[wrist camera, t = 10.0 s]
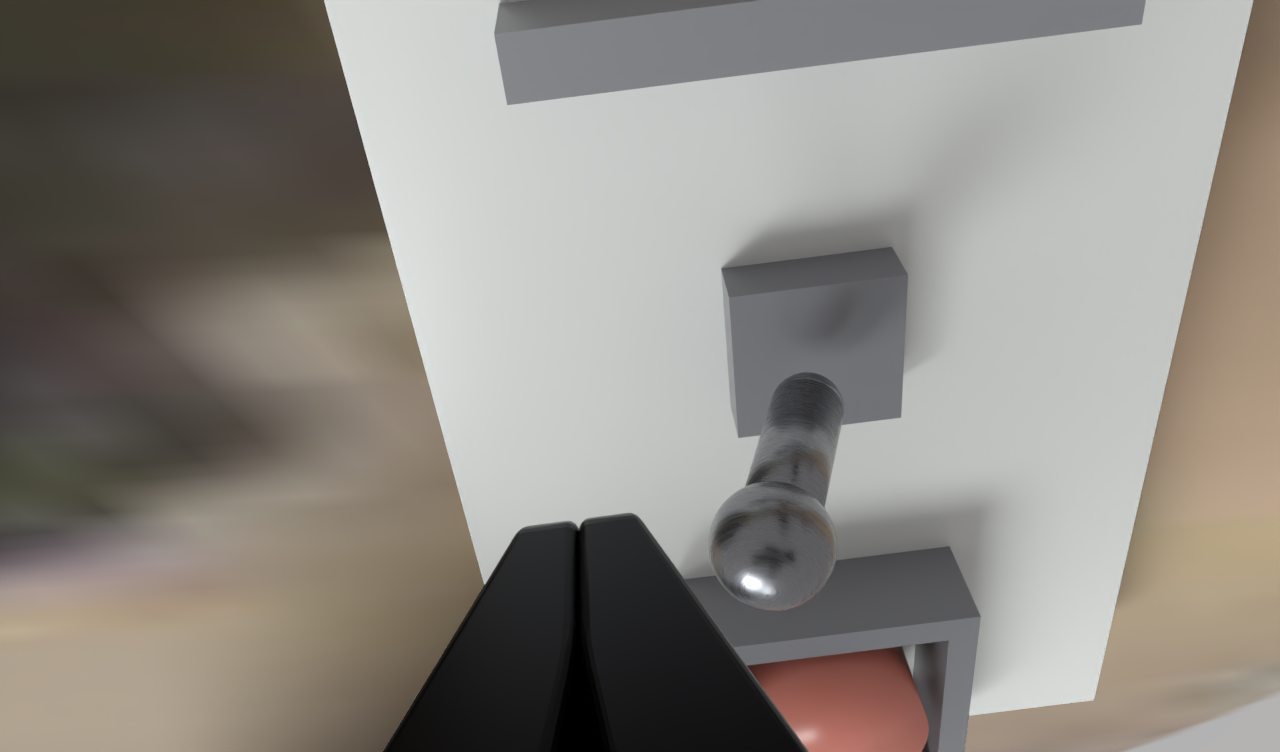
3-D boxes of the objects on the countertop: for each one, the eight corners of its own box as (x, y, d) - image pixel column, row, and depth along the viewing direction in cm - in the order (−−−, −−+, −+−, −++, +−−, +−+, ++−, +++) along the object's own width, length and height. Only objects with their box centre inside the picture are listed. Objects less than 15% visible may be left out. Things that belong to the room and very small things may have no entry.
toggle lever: (761, 424, 18) (699, 628, 15) (757, 339, 17) (689, 535, 14) (865, 433, 18) (827, 647, 14) (867, 346, 17) (827, 552, 13)
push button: (734, 733, 25) (746, 808, 23) (724, 619, 23) (737, 695, 21) (899, 712, 25) (924, 786, 23) (906, 597, 23) (933, 670, 21)
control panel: (536, 702, 27) (533, 845, 24) (215, -545, 13) (102, -612, 10) (1061, 637, 27) (1130, 771, 24) (1312, -687, 13) (1566, -804, 10)
